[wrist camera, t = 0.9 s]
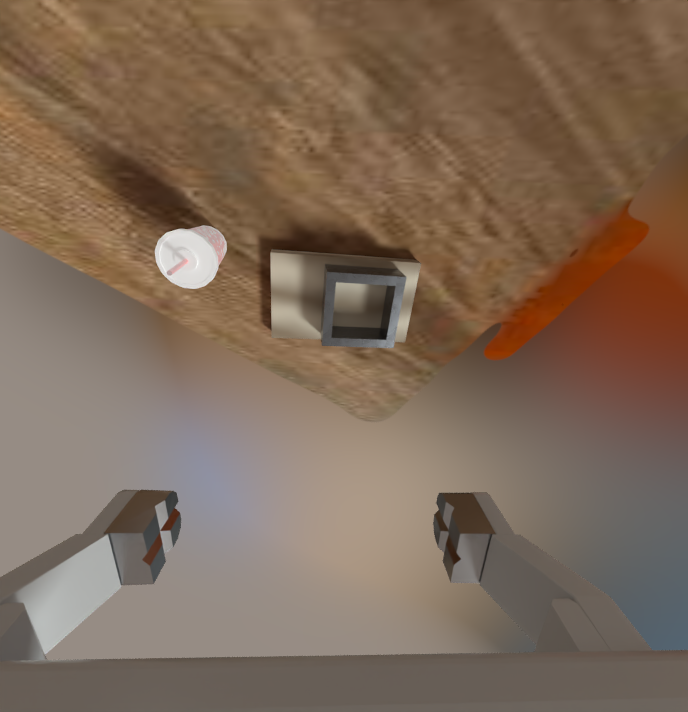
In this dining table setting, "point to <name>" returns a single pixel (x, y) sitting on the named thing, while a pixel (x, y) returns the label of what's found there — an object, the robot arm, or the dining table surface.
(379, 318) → the socket board
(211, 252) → the beverage cup
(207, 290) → the dining table surface
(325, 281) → the cup collar
